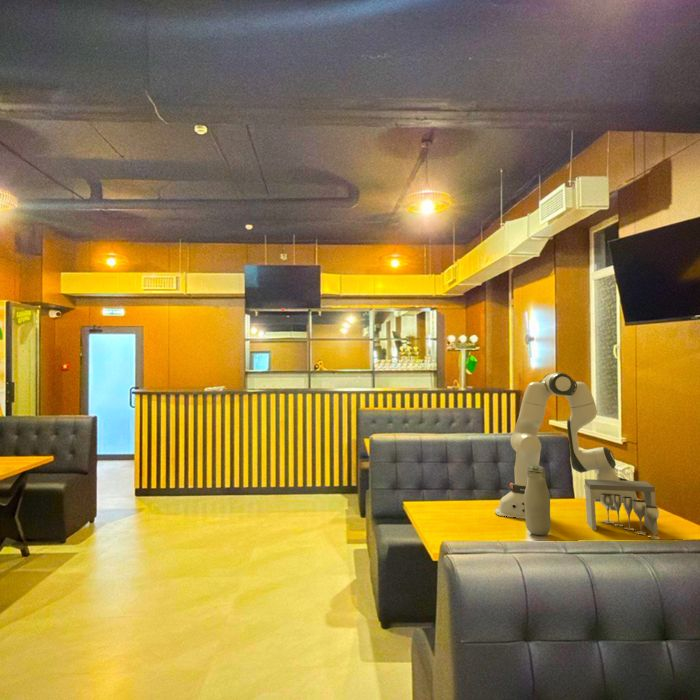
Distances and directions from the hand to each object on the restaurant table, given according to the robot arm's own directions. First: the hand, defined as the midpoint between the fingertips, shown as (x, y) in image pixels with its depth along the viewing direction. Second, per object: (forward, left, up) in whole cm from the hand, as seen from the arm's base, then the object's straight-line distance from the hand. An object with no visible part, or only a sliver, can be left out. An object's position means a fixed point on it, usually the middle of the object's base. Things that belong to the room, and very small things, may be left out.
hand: (614, 510), depth 207 cm
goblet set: (+3, -10, -5) cm, 12 cm away
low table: (0, -9, -5) cm, 11 cm away
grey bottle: (-34, -26, -6) cm, 43 cm away
